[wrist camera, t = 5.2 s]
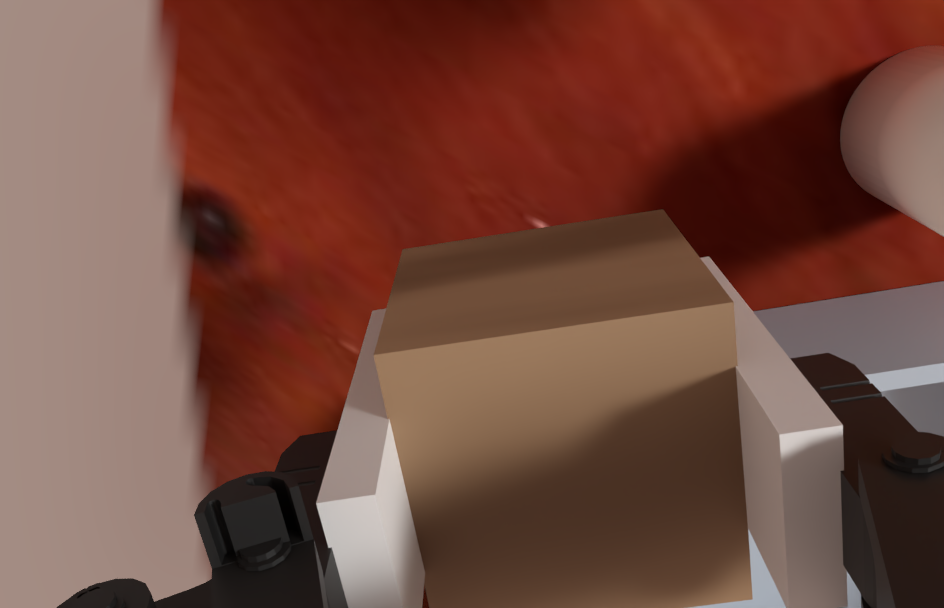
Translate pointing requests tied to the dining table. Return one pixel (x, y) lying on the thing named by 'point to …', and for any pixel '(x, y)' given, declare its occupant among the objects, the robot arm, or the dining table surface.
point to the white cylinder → (900, 134)
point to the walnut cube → (568, 418)
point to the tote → (865, 371)
